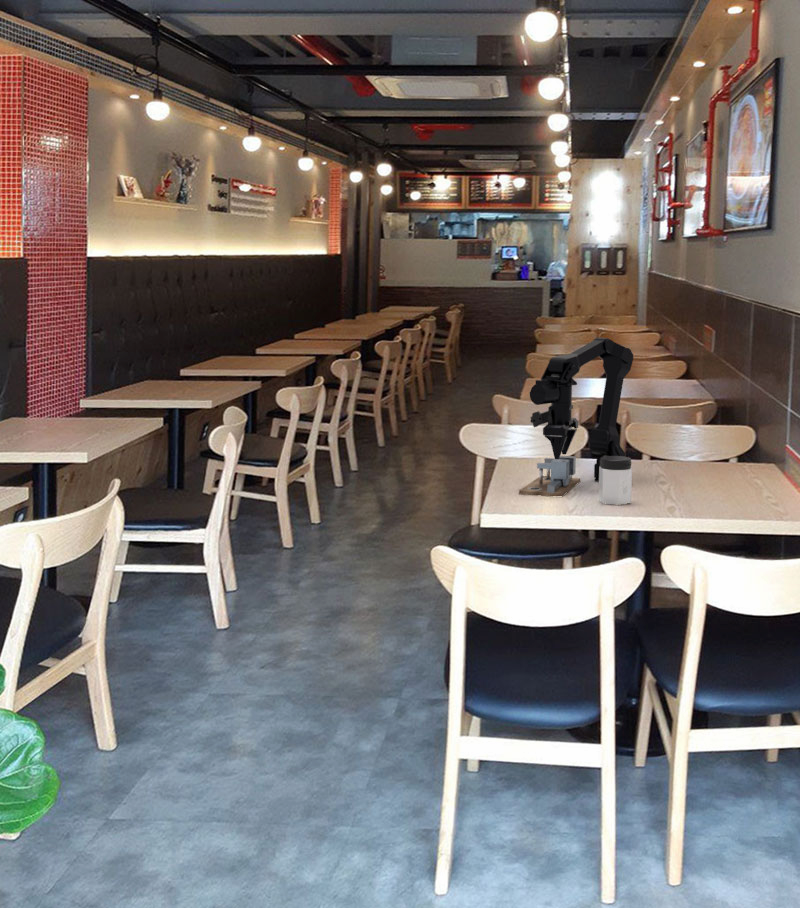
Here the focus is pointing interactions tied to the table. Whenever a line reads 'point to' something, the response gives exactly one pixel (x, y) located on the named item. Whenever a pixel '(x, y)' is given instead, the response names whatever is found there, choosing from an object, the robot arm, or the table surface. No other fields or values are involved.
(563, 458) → the beam
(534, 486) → the hole plate
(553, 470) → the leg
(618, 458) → the jar
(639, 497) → the table surface
